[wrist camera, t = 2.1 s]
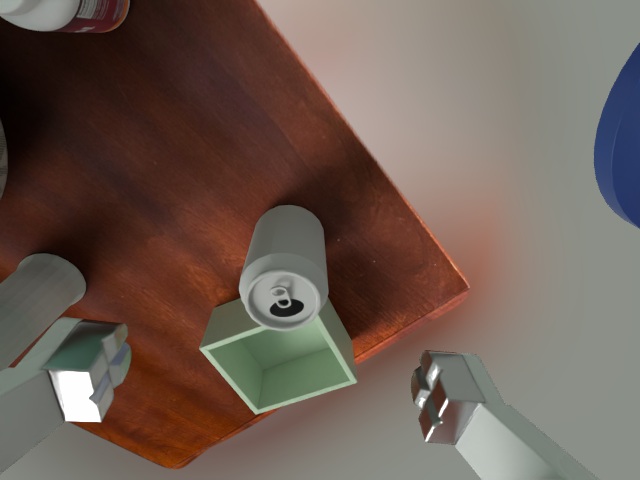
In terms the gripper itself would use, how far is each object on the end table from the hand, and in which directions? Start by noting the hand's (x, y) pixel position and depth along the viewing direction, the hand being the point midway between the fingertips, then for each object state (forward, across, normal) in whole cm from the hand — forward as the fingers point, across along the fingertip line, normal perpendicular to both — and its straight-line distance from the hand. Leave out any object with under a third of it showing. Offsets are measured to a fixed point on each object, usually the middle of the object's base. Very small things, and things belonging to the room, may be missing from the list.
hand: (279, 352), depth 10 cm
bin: (+26, -1, +24) cm, 36 cm away
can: (+27, 0, +11) cm, 29 cm away
